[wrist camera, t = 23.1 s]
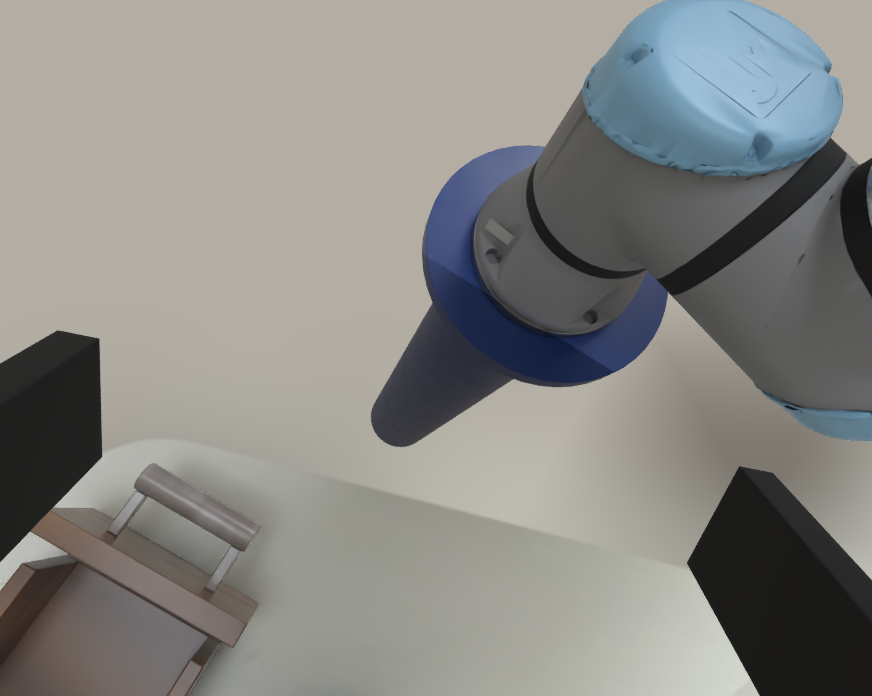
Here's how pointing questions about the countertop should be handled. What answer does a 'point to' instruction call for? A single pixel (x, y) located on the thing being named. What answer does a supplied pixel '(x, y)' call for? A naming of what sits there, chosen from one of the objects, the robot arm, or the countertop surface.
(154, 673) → the drawer
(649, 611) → the countertop surface
